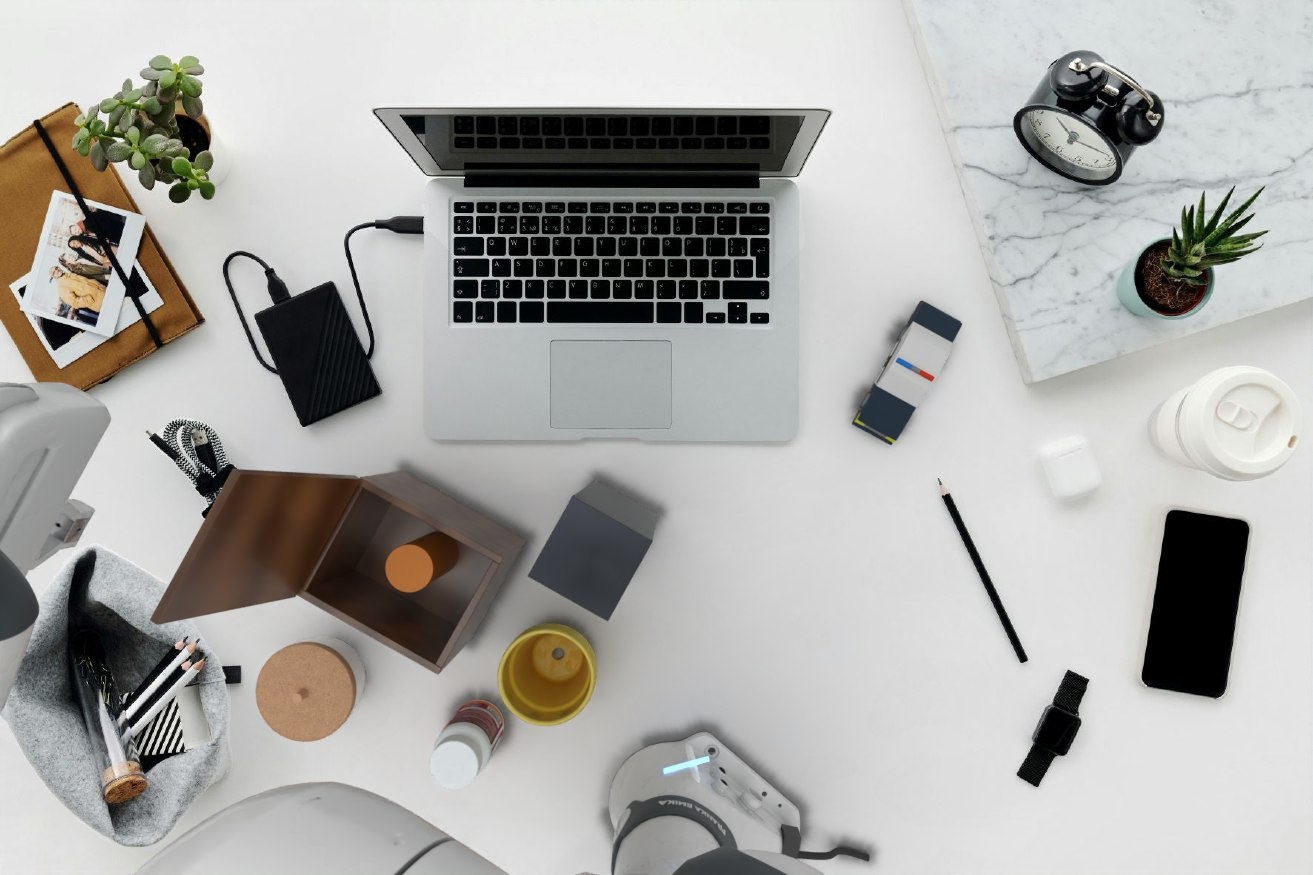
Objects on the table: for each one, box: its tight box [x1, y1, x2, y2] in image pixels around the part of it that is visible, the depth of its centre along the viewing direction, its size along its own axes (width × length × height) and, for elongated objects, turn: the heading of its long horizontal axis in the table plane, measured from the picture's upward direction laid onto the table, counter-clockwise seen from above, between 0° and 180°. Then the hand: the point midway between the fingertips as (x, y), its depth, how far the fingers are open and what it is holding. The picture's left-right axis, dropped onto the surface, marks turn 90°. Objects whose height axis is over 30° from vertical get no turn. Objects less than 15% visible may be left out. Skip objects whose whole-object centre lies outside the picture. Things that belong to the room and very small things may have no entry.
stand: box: [527, 478, 657, 622], centre depth 79 cm, size 8×8×24 cm
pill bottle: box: [429, 699, 505, 791], centre depth 86 cm, size 6×6×11 cm
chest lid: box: [149, 468, 361, 626], centre depth 69 cm, size 18×14×1 cm
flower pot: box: [496, 622, 598, 727], centre depth 87 cm, size 10×10×10 cm
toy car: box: [851, 300, 963, 446], centre depth 88 cm, size 5×16×5 cm, turn 151°
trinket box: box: [255, 636, 367, 743], centre depth 87 cm, size 11×11×9 cm
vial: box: [385, 532, 459, 592], centre depth 86 cm, size 5×5×10 cm
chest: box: [296, 470, 528, 675], centre depth 85 cm, size 17×14×13 cm
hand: (77, 522), depth 55 cm, fingers closed
